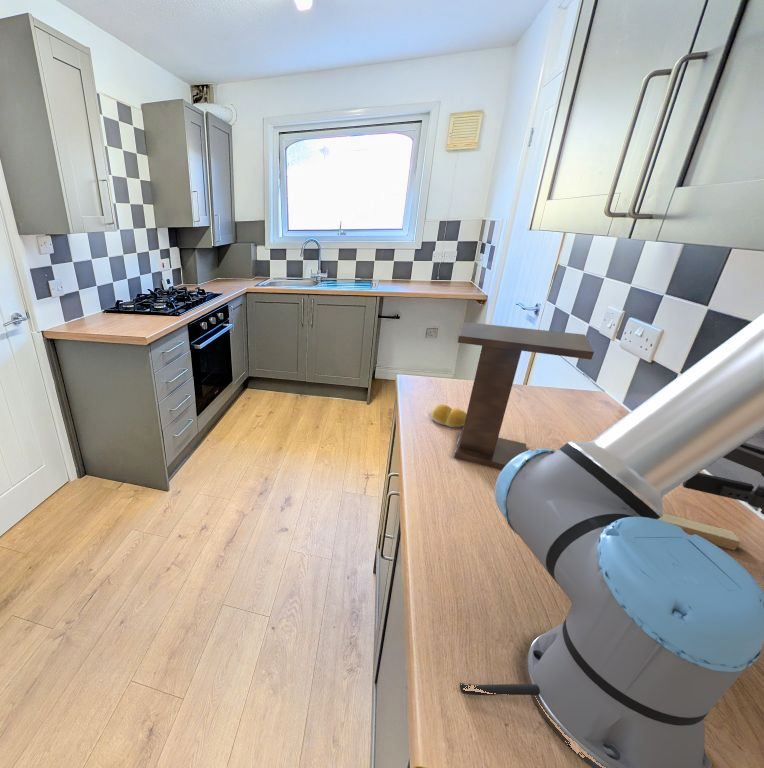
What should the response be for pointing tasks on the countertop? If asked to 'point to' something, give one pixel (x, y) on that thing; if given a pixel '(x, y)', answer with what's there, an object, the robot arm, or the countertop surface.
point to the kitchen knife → (705, 531)
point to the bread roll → (448, 416)
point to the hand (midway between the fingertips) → (672, 456)
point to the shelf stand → (503, 385)
